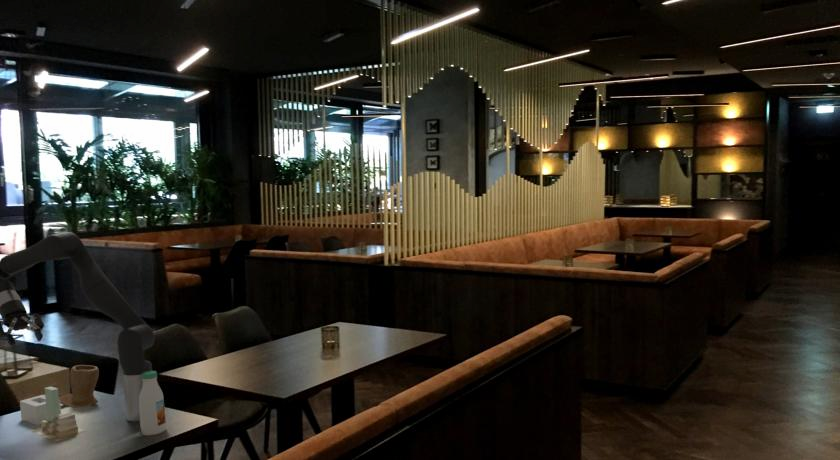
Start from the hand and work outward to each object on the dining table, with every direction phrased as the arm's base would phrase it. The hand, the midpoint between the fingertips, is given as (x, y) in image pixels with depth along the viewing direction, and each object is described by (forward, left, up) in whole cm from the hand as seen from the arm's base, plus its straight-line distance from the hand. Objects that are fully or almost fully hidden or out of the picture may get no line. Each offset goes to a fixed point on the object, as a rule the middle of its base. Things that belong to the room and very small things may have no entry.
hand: (27, 342), depth 229 cm
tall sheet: (-11, +10, -28) cm, 32 cm away
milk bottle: (-45, +14, -30) cm, 56 cm away
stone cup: (-7, -21, -30) cm, 37 cm away
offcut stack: (-17, +14, -28) cm, 35 cm away
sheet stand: (-1, -3, -30) cm, 30 cm away
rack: (-13, +11, -30) cm, 34 cm away
